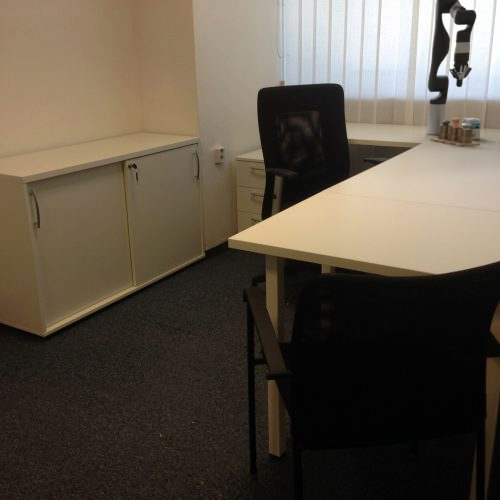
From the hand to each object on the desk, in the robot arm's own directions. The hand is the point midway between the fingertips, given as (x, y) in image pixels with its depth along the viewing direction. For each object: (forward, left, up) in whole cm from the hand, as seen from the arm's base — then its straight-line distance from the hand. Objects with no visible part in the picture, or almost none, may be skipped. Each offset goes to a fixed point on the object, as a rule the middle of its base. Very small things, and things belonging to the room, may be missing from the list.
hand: (459, 86), depth 304 cm
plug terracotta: (0, 0, -25) cm, 25 cm away
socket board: (0, 0, -29) cm, 29 cm away
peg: (-8, 0, -27) cm, 29 cm away
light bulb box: (-7, +17, -29) cm, 35 cm away
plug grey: (+8, 0, -27) cm, 29 cm away
